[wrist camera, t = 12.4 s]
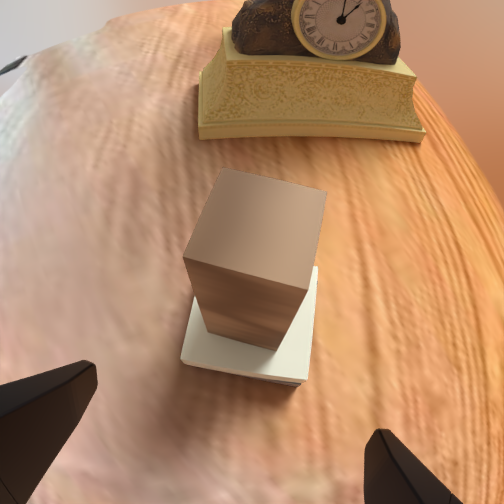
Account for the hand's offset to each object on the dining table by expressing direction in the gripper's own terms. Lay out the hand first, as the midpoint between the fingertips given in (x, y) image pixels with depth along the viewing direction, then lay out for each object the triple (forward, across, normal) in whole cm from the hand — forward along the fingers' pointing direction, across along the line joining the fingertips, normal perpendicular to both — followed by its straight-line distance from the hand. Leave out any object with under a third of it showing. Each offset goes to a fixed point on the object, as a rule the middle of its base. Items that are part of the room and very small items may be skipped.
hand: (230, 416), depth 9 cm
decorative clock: (+35, -1, -16) cm, 39 cm away
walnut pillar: (+12, 0, +2) cm, 12 cm away
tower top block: (+14, 0, +4) cm, 14 cm away
